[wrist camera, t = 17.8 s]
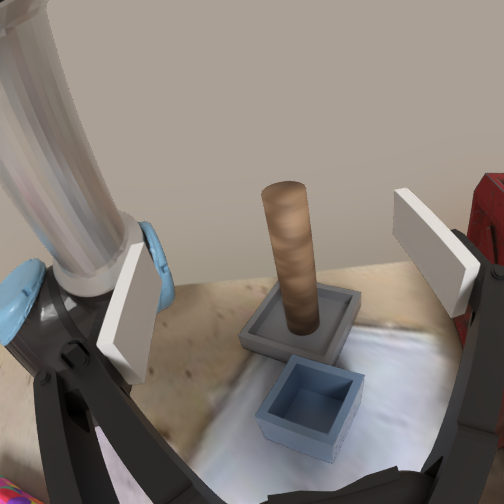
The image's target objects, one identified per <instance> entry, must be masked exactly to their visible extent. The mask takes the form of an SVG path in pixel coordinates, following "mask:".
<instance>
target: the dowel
mask: <svg viewBox="0 0 504 504" xmlns="http://www.w3.org/2000/svg"><path fill="white" fill-rule="evenodd" d="M261 196H262V201H263V206H264V210H265V215H266V220H267V224H268V230H269V235H270V239H271V245H272V250H273V255H274V259H275V264H276V270H277V275H278V280H279V285H280V290H281V295H282V301H283V306H284V311H285V316H286V322H287V327H288V329H289V331H290V332H291V333H293V334H295V335H298V336H306V335H310V334H312V333H314V332H315V331H316V330H317V329H318V327H319V325H320V317H319V304H318V293H317V282H316V271H315V261H314V252H313V243H312V234H311V225H310V217H309V209H308V202H307V194H306V187H305V185H304V184H302V183H300V182H295V181H285V182H278V183H275V184H272V185H270V186H268V187H266V188H265V189H264V190H263V191H262V193H261Z"/></svg>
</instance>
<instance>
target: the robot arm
mask: <svg viewBox="0 0 504 504" xmlns="http://www.w3.org/2000/svg"><path fill="white" fill-rule="evenodd" d="M47 2H48V0H0V185H1V186H2V188H3V189H4V190H5V192H6V194H7V195H8V197H9V198H10V199H11V201H12V202H13V204H14V205H15V207H16V208H17V210H18V211H19V212H20V214H21V215H22V217H23V218H24V219H25V221H26V222H27V224H28V225H29V226H30V228H31V229H32V230H33V231H34V233H35V234H36V236H37V237H38V238H39V239H40V241H41V242H42V243H43V245H44V246H45V247H46V248H47V250H48V251H49V252H50V253H51V255H52V256H53V265H52V266H50V267H48V268H46V266H45V263H44V262H42V261H41V260H39V259H37V258H35V259H30V260H28V261H25V262H24V263H22V264H21V265H19V266H18V267H17V268H16V269H14V270H13V271H12V272H11V273H10V274H9V275H8V276H7V277H6V278H5V279H4V280H3V282H2V283H1V284H0V343H1V344H2V345H3V346H4V347H5V348H6V349H7V350H8V351H9V352H10V353H11V354H12V355H13V357H14V358H15V359H16V360H17V361H18V362H19V363H20V364H21V365H22V366H23V367H24V368H25V369H26V370H27V371H28V372H29V373H30V374H31V375H32V376H33V377H34V382H33V388H34V403H35V414H36V424H37V432H38V440H39V447H40V453H41V459H42V465H43V470H44V475H45V480H46V485H47V489H48V493H49V497H50V501H51V504H120V503H119V501H118V498H117V495H116V493H115V490H114V487H113V485H112V482H111V479H110V476H109V473H108V471H107V468H106V465H105V462H104V458H103V455H102V452H101V449H100V445H99V442H98V439H97V435H96V431H95V428H94V427H96V426H100V428H101V429H102V431H103V433H104V434H105V436H106V437H107V439H108V441H109V442H110V444H111V445H112V447H113V448H114V450H115V451H116V453H117V454H118V456H119V457H120V459H121V460H122V462H123V463H124V465H125V466H126V468H127V469H128V470H129V472H130V473H131V475H132V476H133V477H134V479H135V480H136V481H137V483H138V484H139V485H140V487H141V488H142V489H143V491H144V492H145V493H146V495H147V496H148V497H149V498H150V500H151V501H152V502H153V503H154V504H227V503H226V502H224V501H223V500H222V499H221V498H219V497H218V496H217V495H216V494H215V493H214V492H213V491H212V490H211V489H210V488H209V487H208V486H207V485H206V484H205V483H204V482H203V481H202V480H201V479H200V478H199V477H198V476H197V475H196V474H195V473H194V472H193V471H192V470H191V469H190V468H189V466H188V465H187V464H186V463H185V462H184V461H183V460H182V459H181V458H180V457H179V456H178V454H177V453H176V452H175V451H174V450H173V449H172V448H171V447H170V445H169V444H168V443H167V442H166V441H165V440H164V438H163V437H162V436H161V435H160V434H159V433H158V431H157V430H156V429H155V428H154V426H153V425H152V424H151V423H150V422H149V420H148V419H147V418H146V416H145V415H144V414H143V413H142V411H141V410H140V409H139V407H138V406H137V405H136V404H135V402H134V401H133V400H132V398H131V397H130V396H129V393H130V389H131V385H132V384H145V378H146V371H147V365H148V358H149V352H150V346H151V340H152V335H153V329H154V324H155V318H156V315H157V313H158V312H160V311H162V310H164V309H166V308H167V307H169V306H170V305H171V304H172V303H173V302H174V299H175V288H174V283H173V279H172V275H171V272H170V270H169V268H168V266H167V261H166V257H165V254H164V251H163V249H162V246H161V244H160V241H159V239H158V237H157V235H156V233H155V231H154V229H153V227H152V225H151V224H150V223H148V222H146V221H144V222H137V221H136V220H135V219H134V218H133V217H132V216H131V215H129V214H127V213H125V212H122V211H119V210H117V208H116V205H115V203H114V201H113V199H112V197H111V194H110V192H109V190H108V188H107V186H106V183H105V181H104V178H103V176H102V174H101V172H100V169H99V167H98V165H97V162H96V160H95V157H94V155H93V152H92V150H91V147H90V145H89V142H88V140H87V137H86V135H85V132H84V129H83V127H82V124H81V121H80V119H79V116H78V113H77V110H76V108H75V105H74V102H73V99H72V96H71V93H70V91H69V88H68V85H67V82H66V79H65V75H64V73H63V69H62V66H61V63H60V60H59V56H58V53H57V49H56V46H55V43H54V39H53V35H52V32H51V28H50V24H49V20H48V16H47V12H46V7H47ZM393 235H394V236H395V238H396V239H397V240H398V241H399V243H400V244H401V246H402V247H403V248H404V250H405V251H406V253H407V254H408V255H409V257H410V258H411V260H412V261H413V262H414V264H415V265H416V267H417V268H418V269H419V271H420V272H421V274H422V275H423V277H424V278H425V279H426V281H427V282H428V284H429V285H430V287H431V288H432V290H433V291H434V293H435V294H436V296H437V297H438V299H439V300H440V302H441V303H442V305H443V306H444V308H445V310H446V311H447V313H448V314H449V316H450V317H451V318H454V317H456V316H459V315H462V314H465V311H466V308H467V305H468V304H469V305H470V307H471V308H472V312H471V315H470V317H469V320H468V322H467V325H466V327H468V331H467V336H466V340H465V345H464V350H463V354H462V358H461V362H460V366H459V370H458V374H457V378H456V381H455V385H454V388H453V392H452V395H451V398H450V401H449V405H448V408H447V411H446V414H445V417H444V420H443V422H442V425H441V428H440V431H439V433H438V436H437V439H436V441H435V444H434V446H433V449H432V451H431V453H430V455H429V456H428V458H427V460H426V462H425V463H424V465H423V467H422V469H421V471H420V472H416V471H405V470H401V471H398V467H397V466H395V467H392V468H389V469H386V470H382V471H379V472H376V473H373V474H369V475H366V476H364V477H363V478H361V479H359V480H357V481H355V482H353V483H351V484H349V485H347V486H345V487H343V488H341V489H339V490H337V491H295V492H288V493H282V494H275V495H267V496H268V500H267V501H265V502H262V503H260V504H478V502H479V499H480V497H481V494H482V491H483V489H484V486H485V483H486V480H487V477H488V474H489V471H490V468H491V465H492V462H493V458H494V455H495V452H496V448H497V444H498V435H497V434H496V433H495V428H496V424H497V420H498V415H499V411H500V406H501V401H502V396H503V390H504V266H501V265H497V264H491V263H490V261H489V260H488V259H487V258H486V257H485V256H484V255H483V254H482V253H481V251H480V250H479V249H478V248H477V247H475V245H474V244H473V243H472V242H470V240H469V239H468V238H467V237H466V236H465V234H463V233H461V232H460V231H458V230H456V229H453V230H449V229H448V228H447V227H446V226H445V225H444V223H443V222H442V221H441V220H440V219H439V218H438V217H437V216H436V215H435V214H434V213H433V212H432V211H431V210H430V209H429V208H428V207H426V206H425V205H424V204H423V203H422V202H421V201H420V200H419V199H418V198H417V197H416V196H415V195H414V194H413V193H412V192H411V191H409V190H408V189H407V188H402V189H397V190H394V216H393Z"/></svg>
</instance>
